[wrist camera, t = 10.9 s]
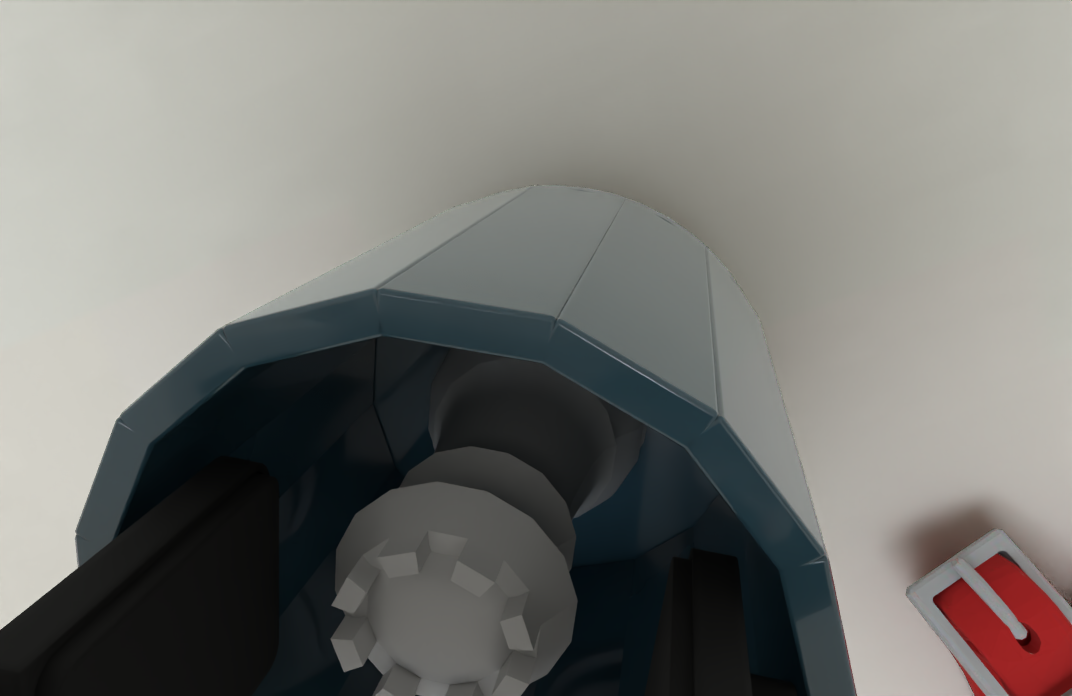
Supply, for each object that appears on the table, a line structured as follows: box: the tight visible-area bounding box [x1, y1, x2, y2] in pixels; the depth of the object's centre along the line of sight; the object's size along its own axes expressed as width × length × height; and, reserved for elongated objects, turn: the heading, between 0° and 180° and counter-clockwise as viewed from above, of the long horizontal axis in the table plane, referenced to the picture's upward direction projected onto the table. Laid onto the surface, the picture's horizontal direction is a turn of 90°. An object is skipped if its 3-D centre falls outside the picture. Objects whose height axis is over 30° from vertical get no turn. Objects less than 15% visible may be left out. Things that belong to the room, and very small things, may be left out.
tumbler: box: [75, 185, 857, 696], centre depth 13 cm, size 9×9×9 cm
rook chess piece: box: [331, 348, 647, 696], centre depth 13 cm, size 4×4×8 cm
